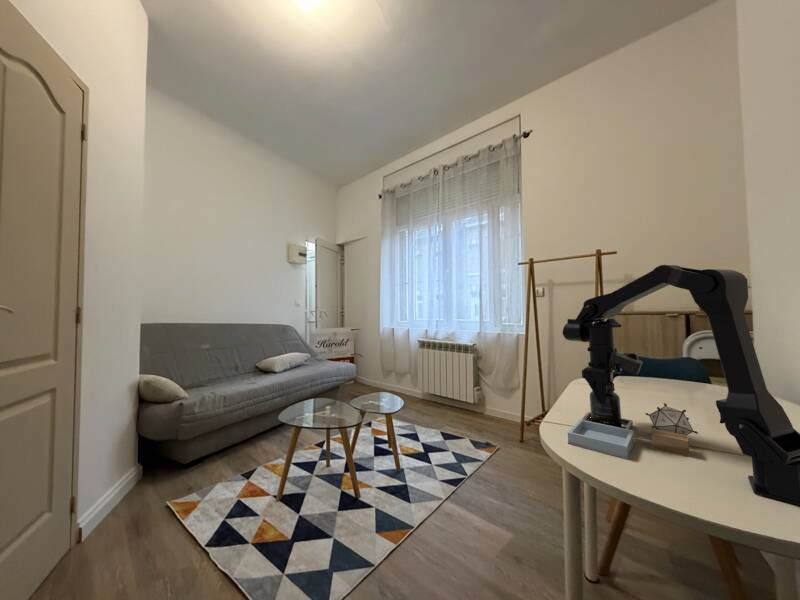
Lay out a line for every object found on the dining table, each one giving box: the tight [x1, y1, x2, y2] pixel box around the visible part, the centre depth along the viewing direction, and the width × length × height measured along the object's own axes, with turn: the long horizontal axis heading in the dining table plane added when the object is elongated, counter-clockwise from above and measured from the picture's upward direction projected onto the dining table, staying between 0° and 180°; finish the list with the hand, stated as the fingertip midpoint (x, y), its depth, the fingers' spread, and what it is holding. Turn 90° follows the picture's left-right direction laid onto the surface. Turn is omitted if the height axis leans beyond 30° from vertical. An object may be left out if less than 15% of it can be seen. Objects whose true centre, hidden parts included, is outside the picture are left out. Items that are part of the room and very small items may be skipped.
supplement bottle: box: [589, 382, 623, 428], centre depth 79 cm, size 7×7×12 cm
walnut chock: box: [651, 428, 690, 458], centre depth 65 cm, size 4×6×4 cm, turn 48°
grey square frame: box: [580, 411, 634, 430], centre depth 79 cm, size 10×10×2 cm
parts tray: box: [567, 419, 636, 460], centre depth 70 cm, size 11×11×3 cm
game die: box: [645, 402, 699, 436], centre depth 71 cm, size 9×8×10 cm
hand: (604, 400), depth 79 cm, fingers closed on supplement bottle, 7 cm apart
